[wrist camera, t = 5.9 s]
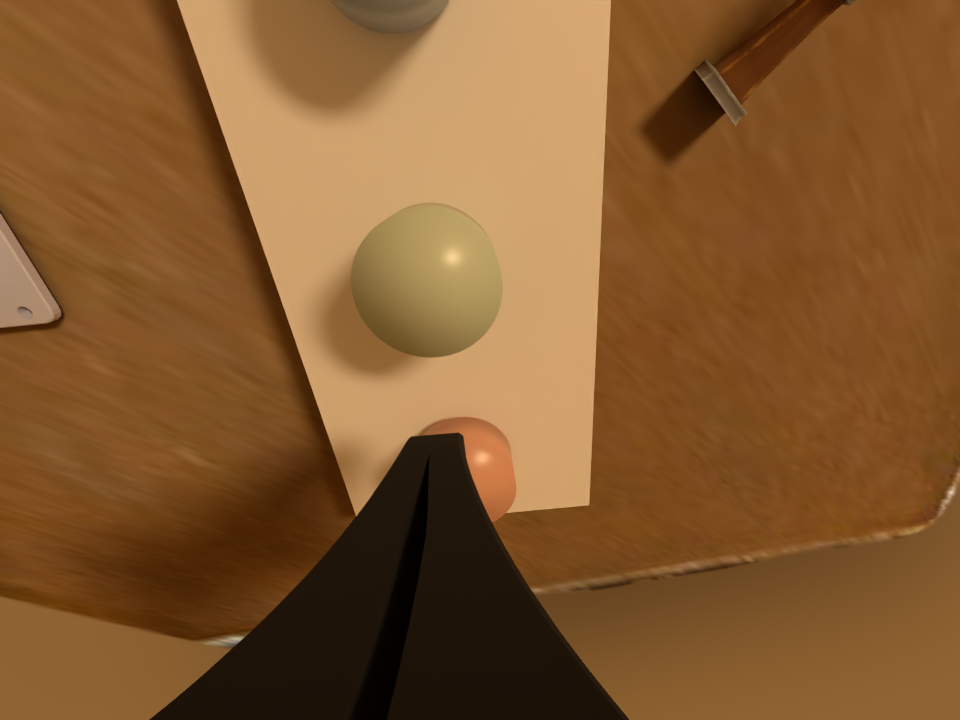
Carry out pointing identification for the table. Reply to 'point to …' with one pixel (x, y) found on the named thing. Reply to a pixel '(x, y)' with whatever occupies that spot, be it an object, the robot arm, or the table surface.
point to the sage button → (427, 280)
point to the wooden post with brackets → (763, 54)
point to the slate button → (390, 13)
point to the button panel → (427, 179)
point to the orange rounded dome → (485, 461)
